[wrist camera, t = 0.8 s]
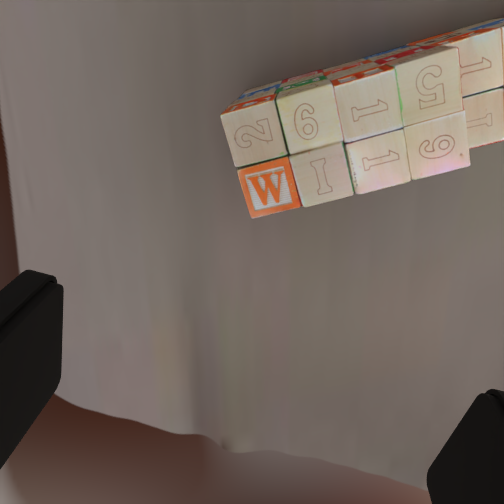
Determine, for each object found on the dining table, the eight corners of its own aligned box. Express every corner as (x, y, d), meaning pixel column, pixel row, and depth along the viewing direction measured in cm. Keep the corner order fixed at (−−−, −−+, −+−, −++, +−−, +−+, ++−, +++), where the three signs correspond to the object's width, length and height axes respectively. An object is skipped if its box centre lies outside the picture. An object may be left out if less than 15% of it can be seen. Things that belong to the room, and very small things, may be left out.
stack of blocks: (541, 2, 29) (688, -22, 18) (541, 95, 32) (670, 124, 21) (243, 90, 34) (216, 114, 23) (264, 166, 36) (249, 221, 25)
